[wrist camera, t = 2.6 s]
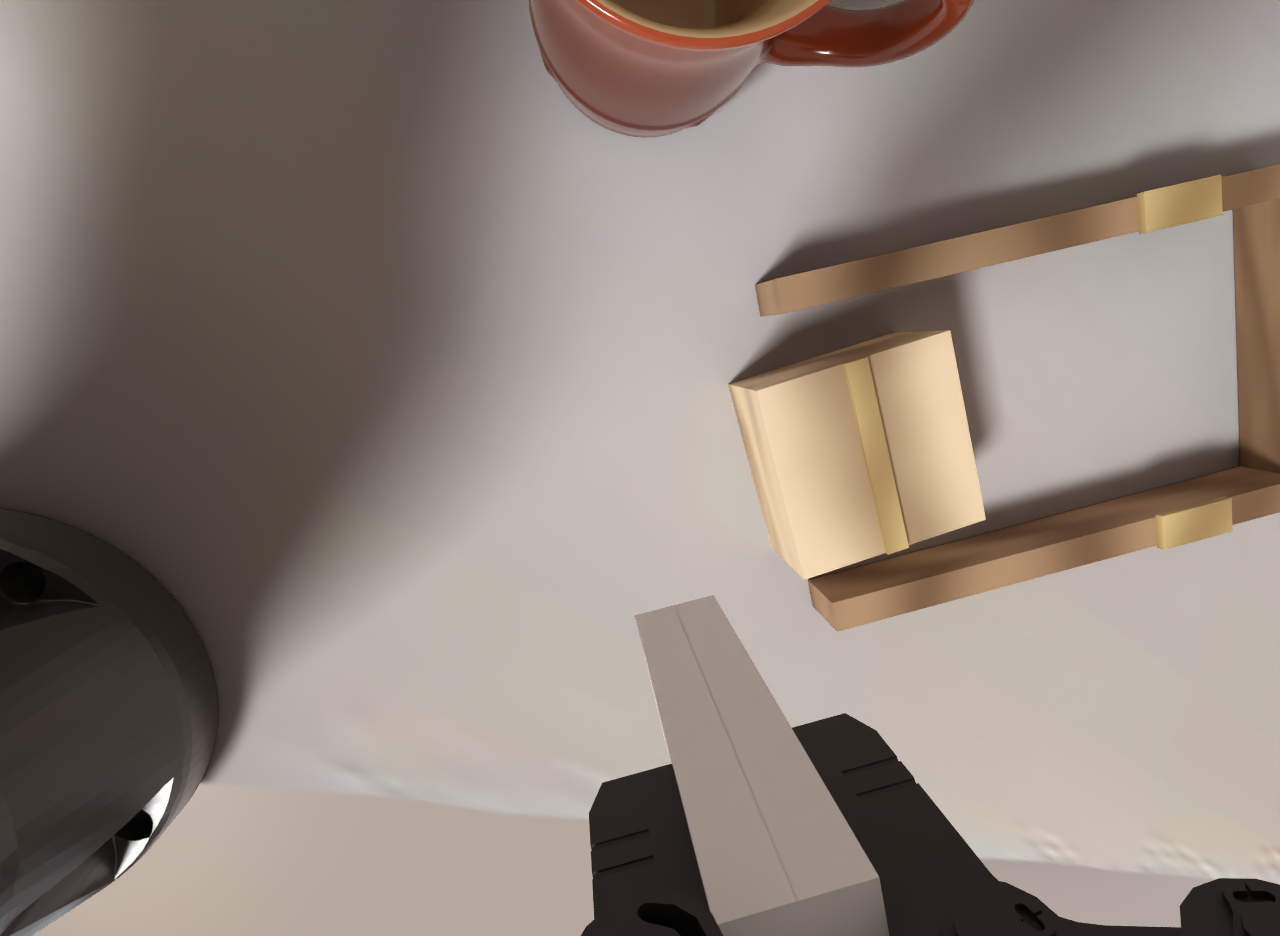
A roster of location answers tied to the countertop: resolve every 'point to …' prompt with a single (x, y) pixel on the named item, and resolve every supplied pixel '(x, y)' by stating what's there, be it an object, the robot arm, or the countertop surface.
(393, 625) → the countertop surface
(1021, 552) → the beam slot
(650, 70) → the mug
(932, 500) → the block
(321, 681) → the countertop surface
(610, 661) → the countertop surface
